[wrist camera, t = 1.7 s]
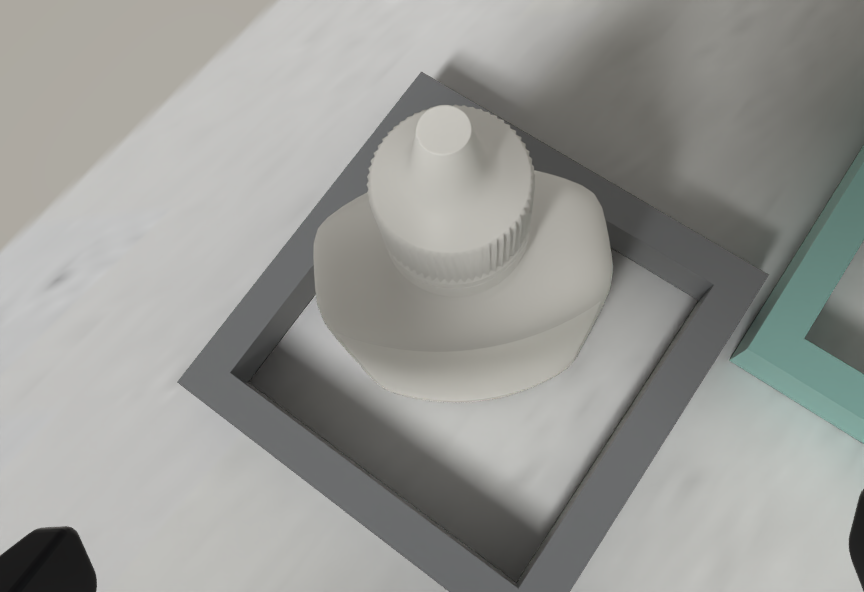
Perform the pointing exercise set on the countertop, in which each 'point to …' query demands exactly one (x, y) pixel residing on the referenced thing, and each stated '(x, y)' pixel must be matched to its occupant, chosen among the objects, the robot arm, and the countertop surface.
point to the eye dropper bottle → (462, 262)
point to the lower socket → (812, 316)
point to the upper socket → (618, 461)
